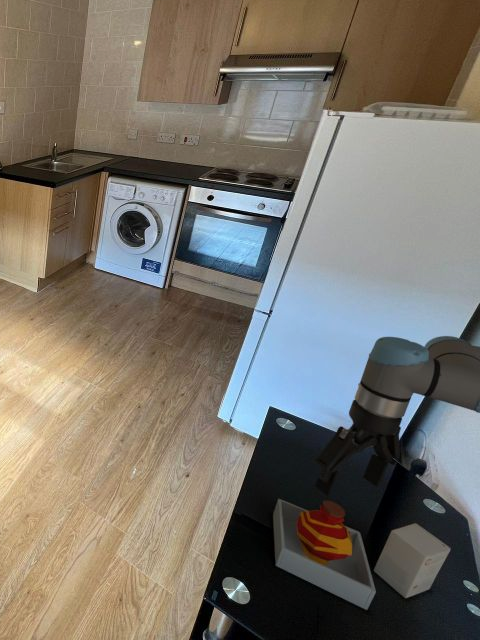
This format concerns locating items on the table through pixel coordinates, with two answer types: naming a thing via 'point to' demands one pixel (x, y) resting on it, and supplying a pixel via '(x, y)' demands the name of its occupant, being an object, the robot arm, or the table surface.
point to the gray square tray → (337, 577)
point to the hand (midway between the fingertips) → (347, 486)
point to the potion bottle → (324, 533)
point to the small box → (411, 560)
